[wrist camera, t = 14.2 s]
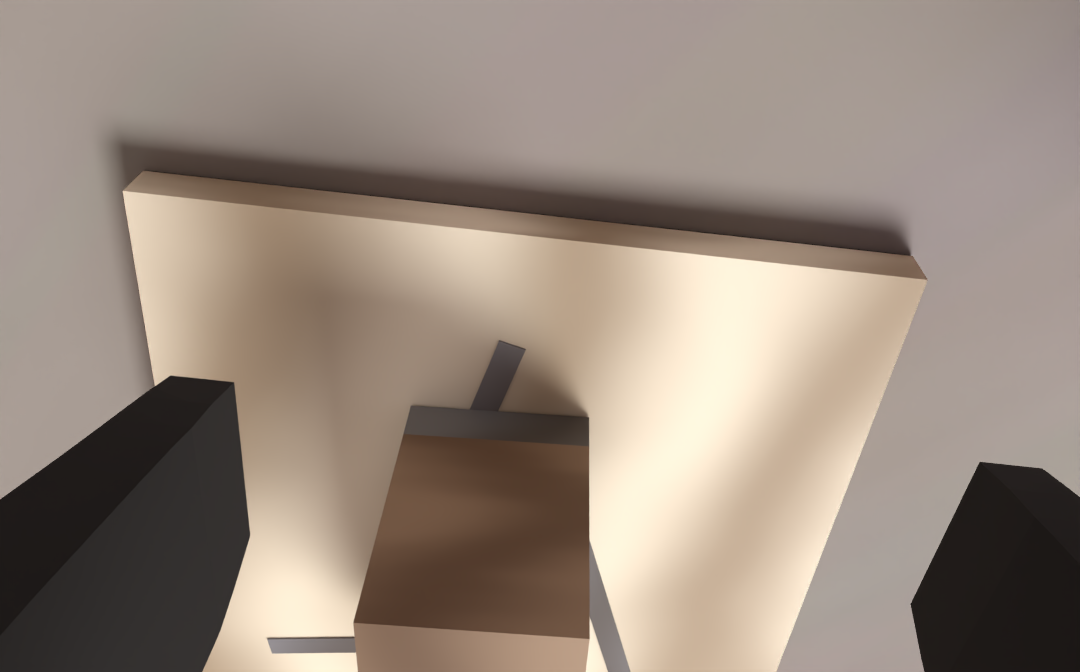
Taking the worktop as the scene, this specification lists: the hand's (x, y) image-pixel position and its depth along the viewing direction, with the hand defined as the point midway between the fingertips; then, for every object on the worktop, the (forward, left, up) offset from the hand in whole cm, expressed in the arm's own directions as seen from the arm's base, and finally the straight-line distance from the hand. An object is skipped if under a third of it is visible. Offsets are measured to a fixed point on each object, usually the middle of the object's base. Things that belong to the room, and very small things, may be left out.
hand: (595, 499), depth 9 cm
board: (+1, +11, -10) cm, 15 cm away
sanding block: (+1, +10, -9) cm, 14 cm away
